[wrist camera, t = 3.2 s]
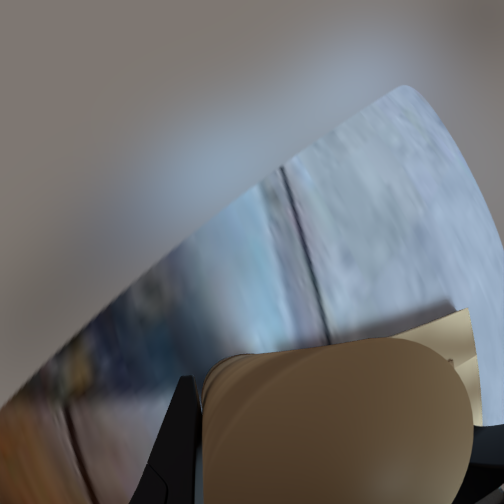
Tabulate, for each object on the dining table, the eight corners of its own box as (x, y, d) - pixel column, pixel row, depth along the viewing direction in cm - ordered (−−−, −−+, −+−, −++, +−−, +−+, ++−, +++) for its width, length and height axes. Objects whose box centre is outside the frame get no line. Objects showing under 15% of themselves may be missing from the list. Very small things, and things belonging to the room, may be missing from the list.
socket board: (470, 480, 13) (481, 483, 12) (325, 563, 10) (332, 572, 9) (457, 310, 18) (469, 307, 17) (290, 363, 15) (298, 363, 14)
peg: (284, 418, 14) (470, 513, 2) (209, 432, 13) (239, 613, 1) (270, 348, 16) (459, 301, 4) (195, 360, 15) (163, 372, 3)
